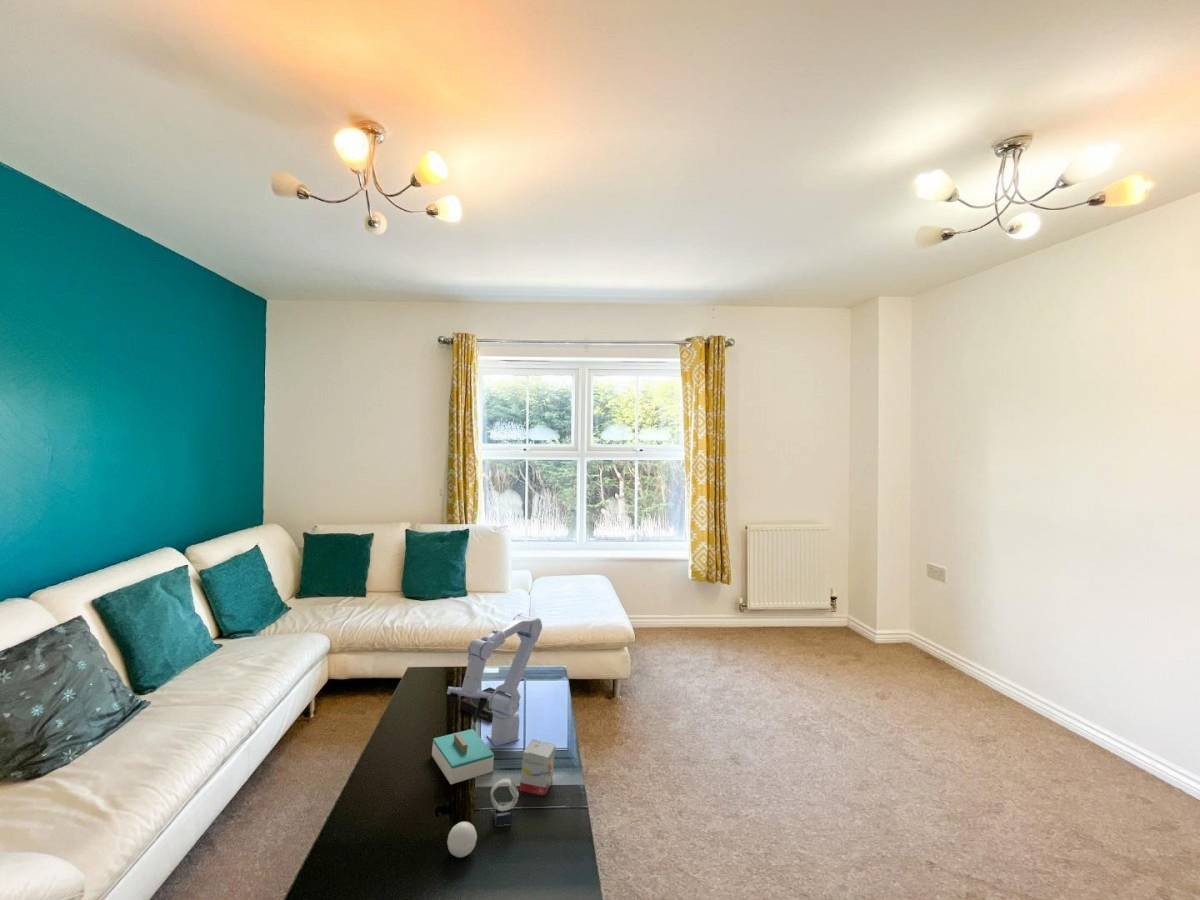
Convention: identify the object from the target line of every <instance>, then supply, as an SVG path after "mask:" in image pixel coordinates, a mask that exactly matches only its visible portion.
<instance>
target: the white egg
mask: <svg viewBox="0 0 1200 900" xmlns="http://www.w3.org/2000/svg"><path fill="white" fill-rule="evenodd" d="M477 834H478V833H477V831H476V828H475V826H474V825H473V824H472V823H470V822H469V821H461V822H460V821H459V822H458V823H457V824H455V825H454V826H453V827H451V830H450V831H449V832H448V836H447V841H446V843H447V848H448V851H449V853H450V854H451V855H452V856H454V857H456V858H464V857H466V856H468V855H469V854H471V853H472V851H473V850H474V848H475V847H476V843H477V840H478V835H477Z"/></svg>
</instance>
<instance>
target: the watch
mask: <svg viewBox="0 0 1200 900" xmlns="http://www.w3.org/2000/svg"><path fill="white" fill-rule="evenodd" d="M502 785H507V787H508V790H509V792H510V794H511V796H512V800H511V801H503V802H501V801H500V802H497V801H496V799H495V796H494V793H495V791H496V789H497V788H499V787H500V786H502ZM489 795H490V801H491V803H492V804H491V805H492V806H493V814H494V816H493V820H494V819H495V822H494V826H495V825H496V826H498V825H504V824H511V825H512V823H513V822H512V819H513V812H512V809H513V808H514V806H516V805H517V804H516V803H517V802H518V800H519V799H518V797H519V796H520V794H519V791H518V788H517V786H516V783H515V781H514V780H513V778H509V777H503V778H499V779H498V780H497V781H495V782H494V783H493V785H492V787H491V789H490V793H489ZM493 814H492V815H493Z"/></svg>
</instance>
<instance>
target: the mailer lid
mask: <svg viewBox="0 0 1200 900" xmlns="http://www.w3.org/2000/svg"><path fill="white" fill-rule="evenodd" d="M432 740H433V741H434V742H435V744H436V745H437V747H438V748H439V750H440V751H441V753H442V754H443V755H444V757H445V758H446V760H447V761H448V763H449V764H450V766H451V767H452V768H454V767H458V766H461V765H465V764H468V763H472V762H475V761H479V760H482V759H486V758H489V757H492V756H493V757H494V756H495V753H494V752H493V751H492V750H491V748H490V747H489V746H488V745H487V744H486V743H485V742H484V740H483V739H482V738H481V737H480V736H479V734H478V733H477V732H476V731H475V730H474V729H473V728H471V729H467V730H466V729H465V730H463V731H458V732H454V733H451V734H446V735H443V736H438V737H435V738H433V739H432ZM433 741H432V742H433Z"/></svg>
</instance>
